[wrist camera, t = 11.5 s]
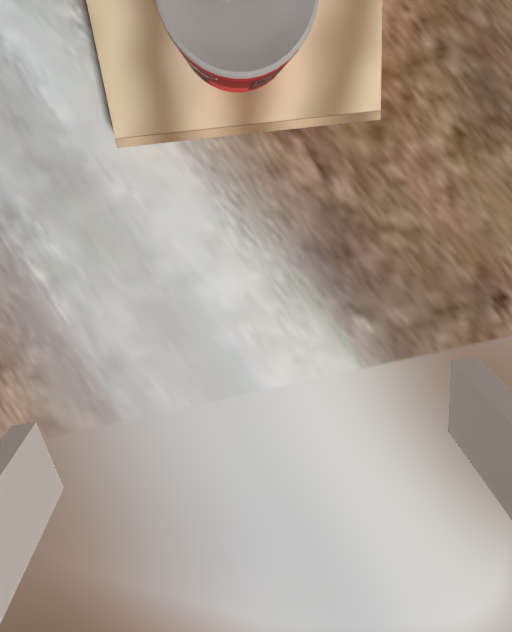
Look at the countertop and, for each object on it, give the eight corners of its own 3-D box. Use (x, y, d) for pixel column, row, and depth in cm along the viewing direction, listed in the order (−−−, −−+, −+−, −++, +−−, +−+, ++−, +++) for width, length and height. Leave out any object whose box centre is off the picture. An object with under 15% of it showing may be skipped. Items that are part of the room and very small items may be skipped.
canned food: (173, -37, 29) (141, -128, 18) (294, -35, 29) (328, -123, 19) (181, 94, 32) (157, 77, 22) (290, 94, 32) (318, 78, 22)
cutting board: (123, 146, 35) (117, 147, 33) (81, -59, 29) (71, -71, 28) (372, 120, 35) (380, 119, 33) (374, -89, 30) (383, -104, 28)
